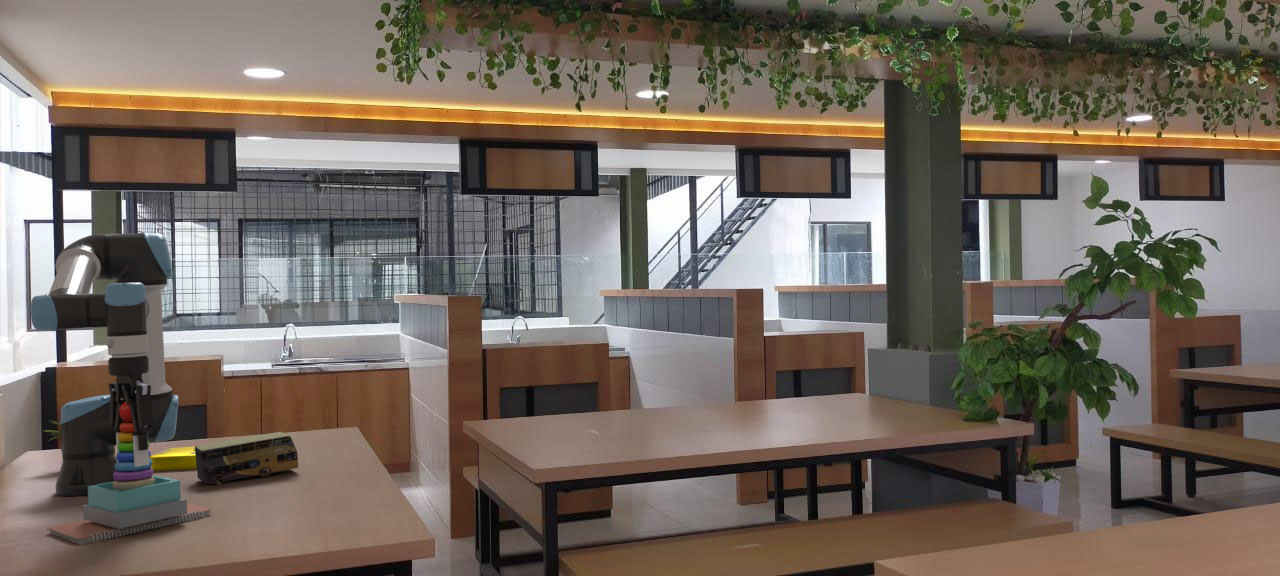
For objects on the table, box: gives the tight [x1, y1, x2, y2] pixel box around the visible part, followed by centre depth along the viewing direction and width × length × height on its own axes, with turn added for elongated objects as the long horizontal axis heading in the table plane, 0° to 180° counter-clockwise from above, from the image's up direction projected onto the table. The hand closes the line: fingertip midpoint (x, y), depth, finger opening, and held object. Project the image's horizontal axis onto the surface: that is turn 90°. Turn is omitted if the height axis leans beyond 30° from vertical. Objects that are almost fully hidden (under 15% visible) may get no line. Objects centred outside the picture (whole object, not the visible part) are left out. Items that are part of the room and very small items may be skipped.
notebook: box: [46, 502, 213, 545], centre depth 203 cm, size 27×17×2 cm, turn 141°
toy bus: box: [194, 431, 299, 485], centre depth 250 cm, size 10×23×10 cm, turn 125°
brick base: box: [82, 474, 188, 529], centre depth 201 cm, size 16×14×7 cm
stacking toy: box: [112, 401, 155, 491], centre depth 201 cm, size 8×8×19 cm
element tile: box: [149, 446, 197, 472], centre depth 271 cm, size 15×15×5 cm
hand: (133, 463), depth 201 cm, fingers closed on stacking toy, 7 cm apart
